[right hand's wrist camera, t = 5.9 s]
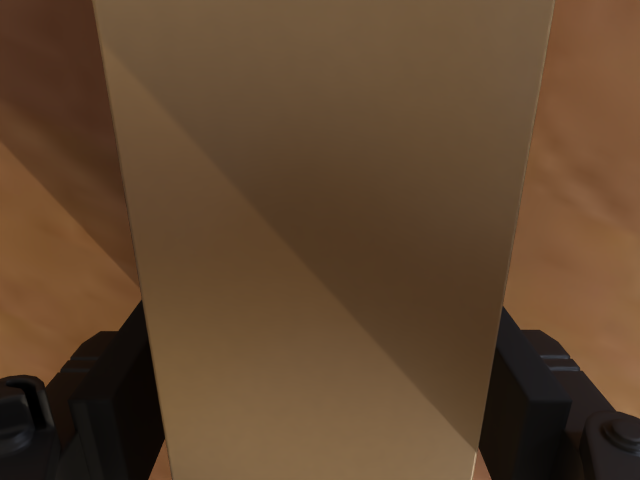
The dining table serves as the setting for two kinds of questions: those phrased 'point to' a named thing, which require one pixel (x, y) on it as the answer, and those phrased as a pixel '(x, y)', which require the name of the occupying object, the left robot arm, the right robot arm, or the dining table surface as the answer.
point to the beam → (323, 222)
